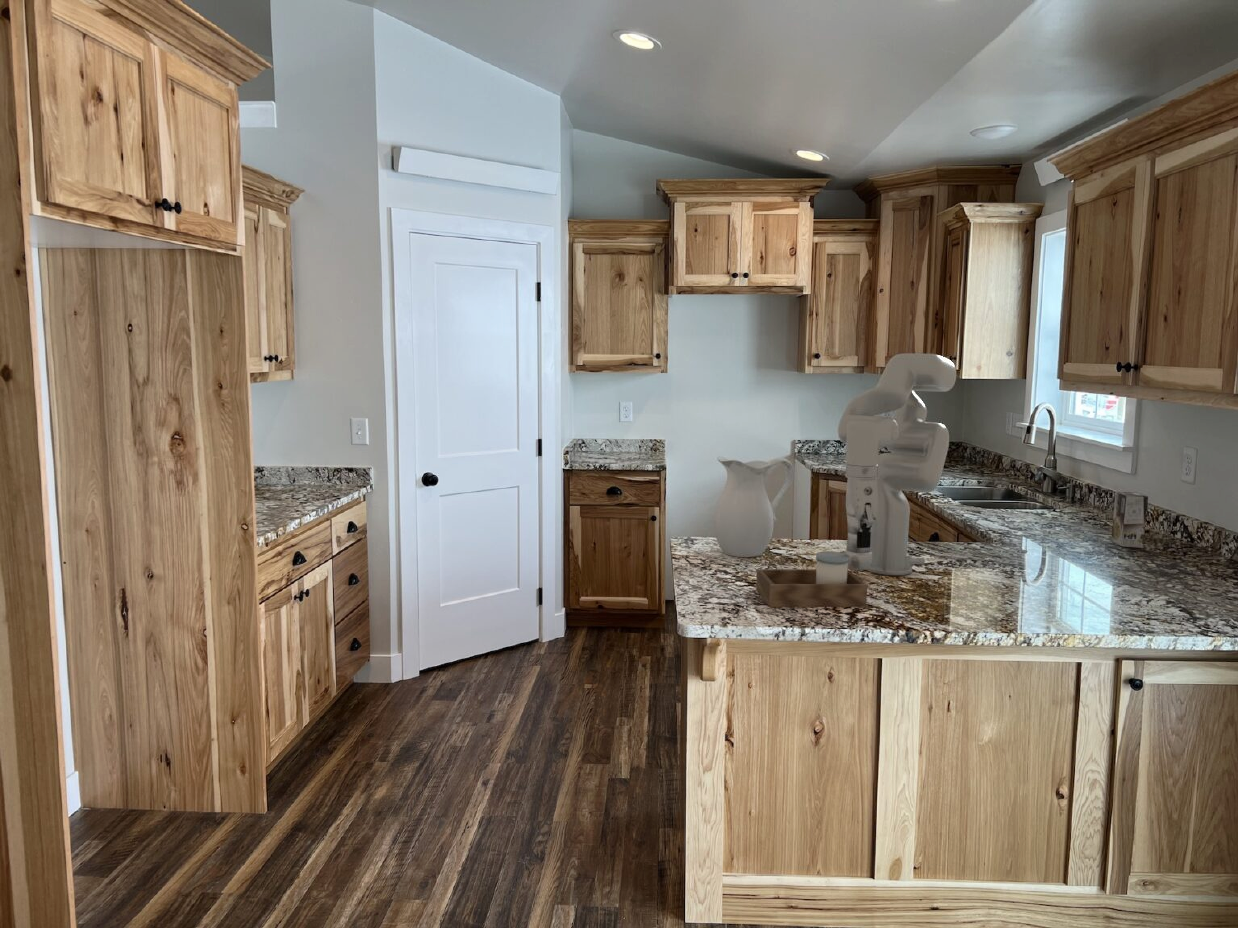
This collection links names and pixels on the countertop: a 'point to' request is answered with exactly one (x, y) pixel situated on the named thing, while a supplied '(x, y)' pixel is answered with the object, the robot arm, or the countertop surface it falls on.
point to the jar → (831, 567)
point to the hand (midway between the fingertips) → (858, 543)
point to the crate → (808, 589)
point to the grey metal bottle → (857, 556)
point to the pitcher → (747, 507)
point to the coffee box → (1129, 519)
